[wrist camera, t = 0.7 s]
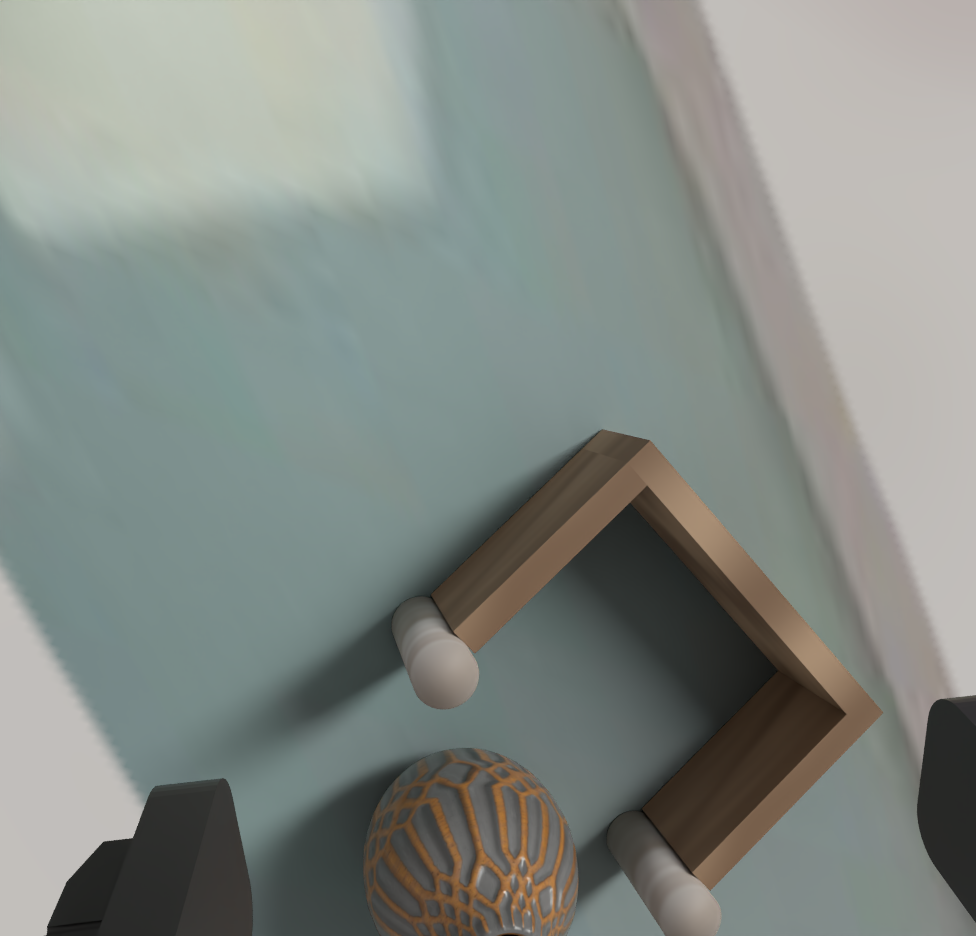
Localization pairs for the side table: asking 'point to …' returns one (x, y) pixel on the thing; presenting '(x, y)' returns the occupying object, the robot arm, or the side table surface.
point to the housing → (735, 747)
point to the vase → (469, 851)
